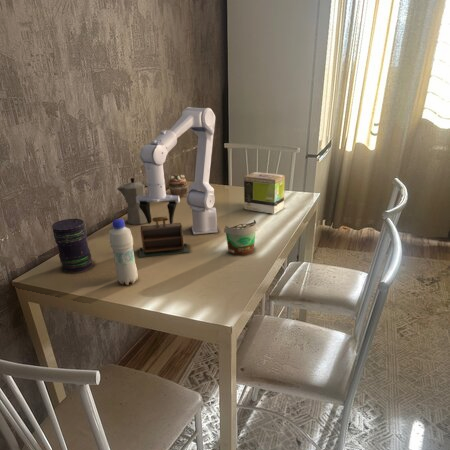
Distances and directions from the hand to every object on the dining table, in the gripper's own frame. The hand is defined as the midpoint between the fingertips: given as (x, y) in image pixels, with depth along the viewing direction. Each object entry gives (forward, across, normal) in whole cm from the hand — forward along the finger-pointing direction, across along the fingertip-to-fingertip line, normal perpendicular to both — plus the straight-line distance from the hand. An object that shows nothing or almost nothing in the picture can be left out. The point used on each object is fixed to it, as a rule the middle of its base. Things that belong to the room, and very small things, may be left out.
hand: (160, 222), depth 143 cm
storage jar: (+10, -26, -14) cm, 32 cm away
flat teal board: (+10, 0, -1) cm, 10 cm away
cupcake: (+10, -8, +67) cm, 68 cm away
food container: (+10, +29, -2) cm, 31 cm away
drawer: (+9, 0, -1) cm, 9 cm away
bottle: (+10, -6, -24) cm, 27 cm away
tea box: (+10, +35, +46) cm, 58 cm away
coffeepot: (+10, -17, +30) cm, 36 cm away
